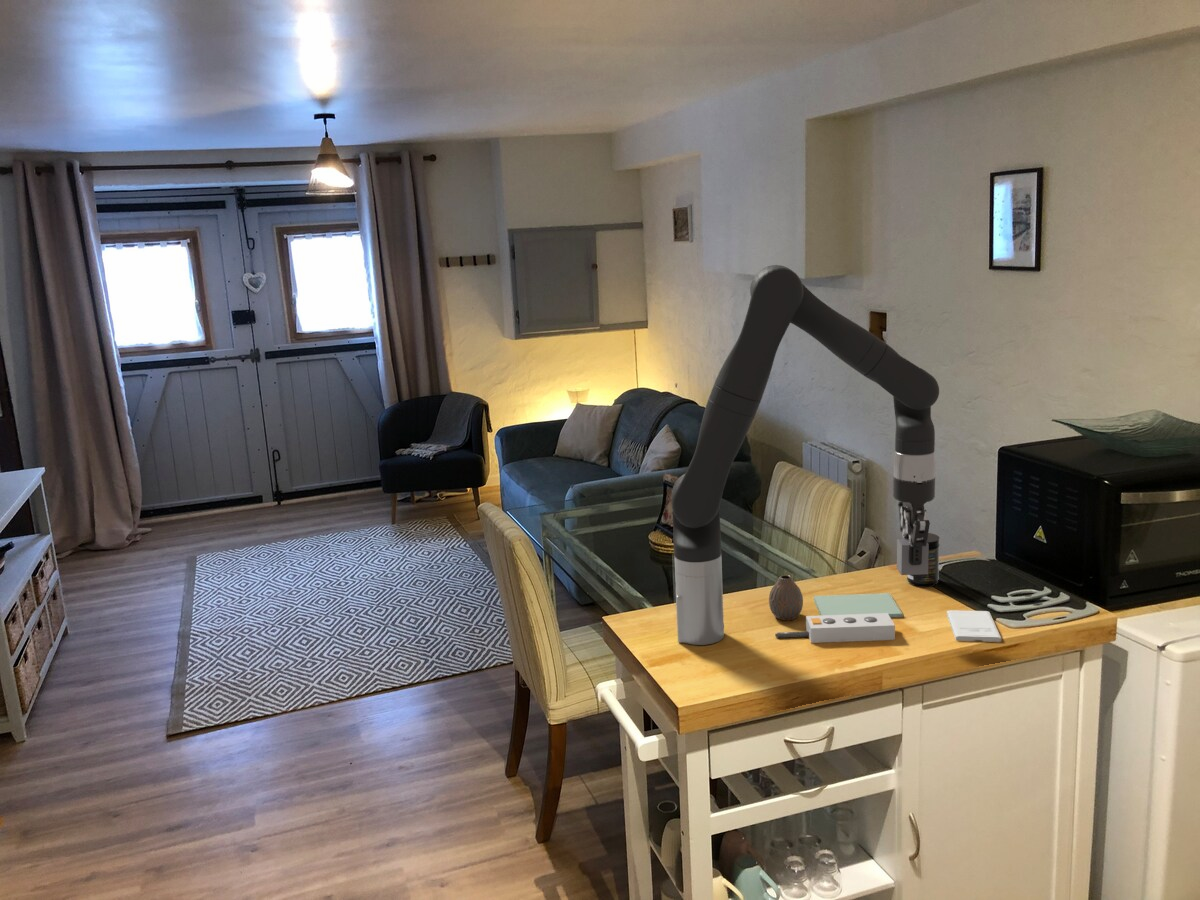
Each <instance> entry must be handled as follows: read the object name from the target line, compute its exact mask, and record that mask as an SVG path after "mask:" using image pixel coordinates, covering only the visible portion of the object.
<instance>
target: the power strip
mask: <svg viewBox="0 0 1200 900" xmlns="http://www.w3.org/2000/svg"><path fill="white" fill-rule="evenodd" d="M774 636H775V637H776V638H777V639H781V638H782V639H783V638H802V637H803V638H806V637H808V638H809V641H810V643H811V644H813V643H817V644H818V643H843V642H846V643H847V642H868V641H869V642H870V641H875V642H876V641H894V640H896V625H895V623H894V621H893V620H892V618H890V616H889V614H888V613H873V614H847V615H820V614H819V615H806V616H805V631H786V632H785V631H783V632H775V635H774Z"/></svg>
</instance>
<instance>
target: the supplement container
mask: <svg viewBox="0 0 1200 900" xmlns="http://www.w3.org/2000/svg"><path fill="white" fill-rule="evenodd" d="M940 539H941V538H940V536H939V535H937V534H935V533H931V532H928V538H927V543H928V544H929V553H928V574H921V575H906V579H907V580H906V581H907V582H908V583H909V584H910V585H913V586H915V587H920V588H928V587H933V586H935V584H936V585H937V584H938V583H939V581H938V580H940V577H939V575H940V571H939V569H940V568H939V567H940V546H941V545H940V544H941V543H940V541H941V540H940Z"/></svg>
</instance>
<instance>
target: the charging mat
mask: <svg viewBox="0 0 1200 900" xmlns="http://www.w3.org/2000/svg"><path fill="white" fill-rule="evenodd" d="M813 601H814V603H815V606H816V609H817V610H818V613H819V616H820V615H847V614H873V613H888V614H889V616H890V618H891V619H892V618H903V612H902V611H901V608H900V607H899V605H898V604H897V603H896V601H895V600H894V598H893V597H892V594H891V593H890V592H884V593H881V592H879V593H859V594H857V593H856V594H852V593H851V594H833V595H832V594H830V595H829V594H828V595H814V596H813Z"/></svg>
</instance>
